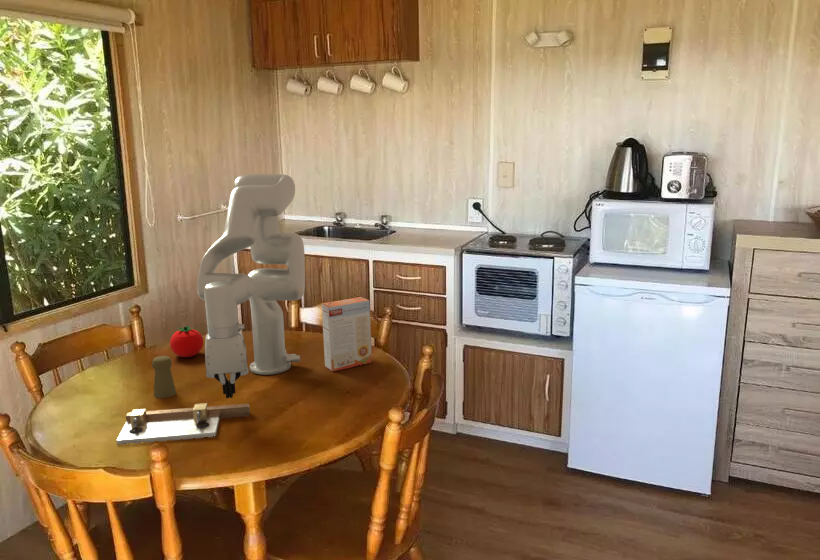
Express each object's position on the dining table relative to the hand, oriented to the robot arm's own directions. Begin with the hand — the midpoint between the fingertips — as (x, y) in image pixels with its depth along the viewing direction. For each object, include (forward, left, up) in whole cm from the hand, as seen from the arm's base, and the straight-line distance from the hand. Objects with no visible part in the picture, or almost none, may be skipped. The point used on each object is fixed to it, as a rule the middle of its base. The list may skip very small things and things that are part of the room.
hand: (229, 395), depth 178 cm
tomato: (+18, -50, -6) cm, 53 cm away
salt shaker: (+20, -19, -6) cm, 28 cm away
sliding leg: (+7, +4, -4) cm, 9 cm away
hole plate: (+11, +4, -6) cm, 13 cm away
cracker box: (-33, -32, -6) cm, 46 cm away
